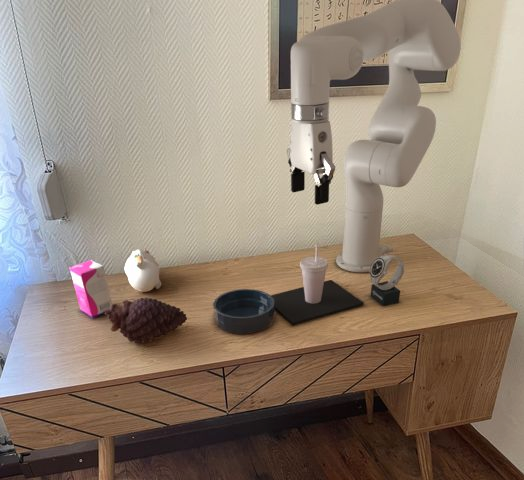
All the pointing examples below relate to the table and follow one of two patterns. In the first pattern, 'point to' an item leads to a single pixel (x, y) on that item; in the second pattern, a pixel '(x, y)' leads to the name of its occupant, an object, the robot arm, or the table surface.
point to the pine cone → (145, 319)
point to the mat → (301, 311)
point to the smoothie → (313, 277)
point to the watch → (386, 290)
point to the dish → (244, 311)
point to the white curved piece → (142, 271)
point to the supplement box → (91, 288)
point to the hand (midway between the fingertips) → (309, 196)
